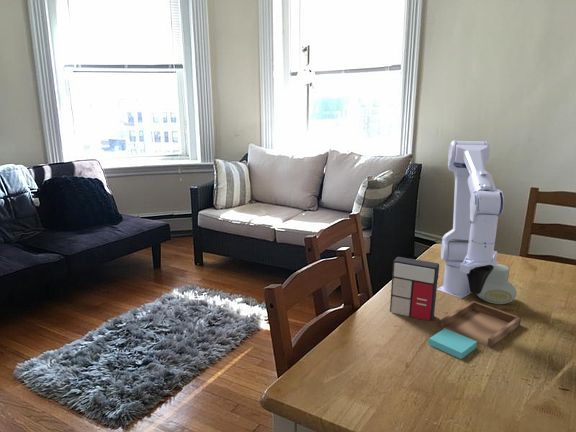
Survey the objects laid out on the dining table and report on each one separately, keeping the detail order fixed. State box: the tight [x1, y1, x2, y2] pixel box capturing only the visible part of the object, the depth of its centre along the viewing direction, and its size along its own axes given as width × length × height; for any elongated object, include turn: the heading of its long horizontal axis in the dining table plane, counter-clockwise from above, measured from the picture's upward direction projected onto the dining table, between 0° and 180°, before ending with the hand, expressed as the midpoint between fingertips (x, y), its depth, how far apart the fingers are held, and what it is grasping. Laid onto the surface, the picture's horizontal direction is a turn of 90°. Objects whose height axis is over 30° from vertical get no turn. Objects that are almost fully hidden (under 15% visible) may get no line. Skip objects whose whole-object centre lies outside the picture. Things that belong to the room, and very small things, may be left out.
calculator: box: [389, 256, 440, 322], centre depth 116 cm, size 11×4×15 cm, turn 62°
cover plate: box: [428, 328, 478, 360], centre depth 103 cm, size 7×8×2 cm
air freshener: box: [476, 263, 518, 305], centre depth 125 cm, size 11×8×10 cm
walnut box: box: [440, 300, 522, 348], centre depth 111 cm, size 16×13×2 cm
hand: (475, 292), depth 110 cm, fingers closed
